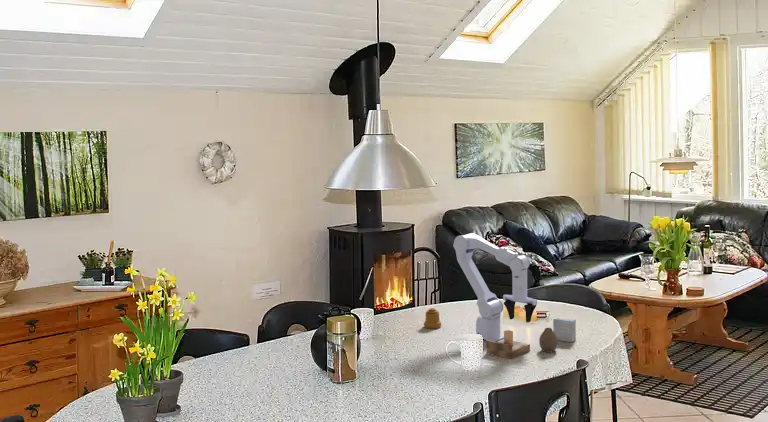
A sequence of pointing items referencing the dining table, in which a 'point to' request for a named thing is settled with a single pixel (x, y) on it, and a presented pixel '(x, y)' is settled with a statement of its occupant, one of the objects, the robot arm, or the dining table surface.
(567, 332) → the medicine box
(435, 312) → the ornamental finial
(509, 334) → the peach rounded cylinder
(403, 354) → the dining table surface
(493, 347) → the brown wooden box
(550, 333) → the vase
